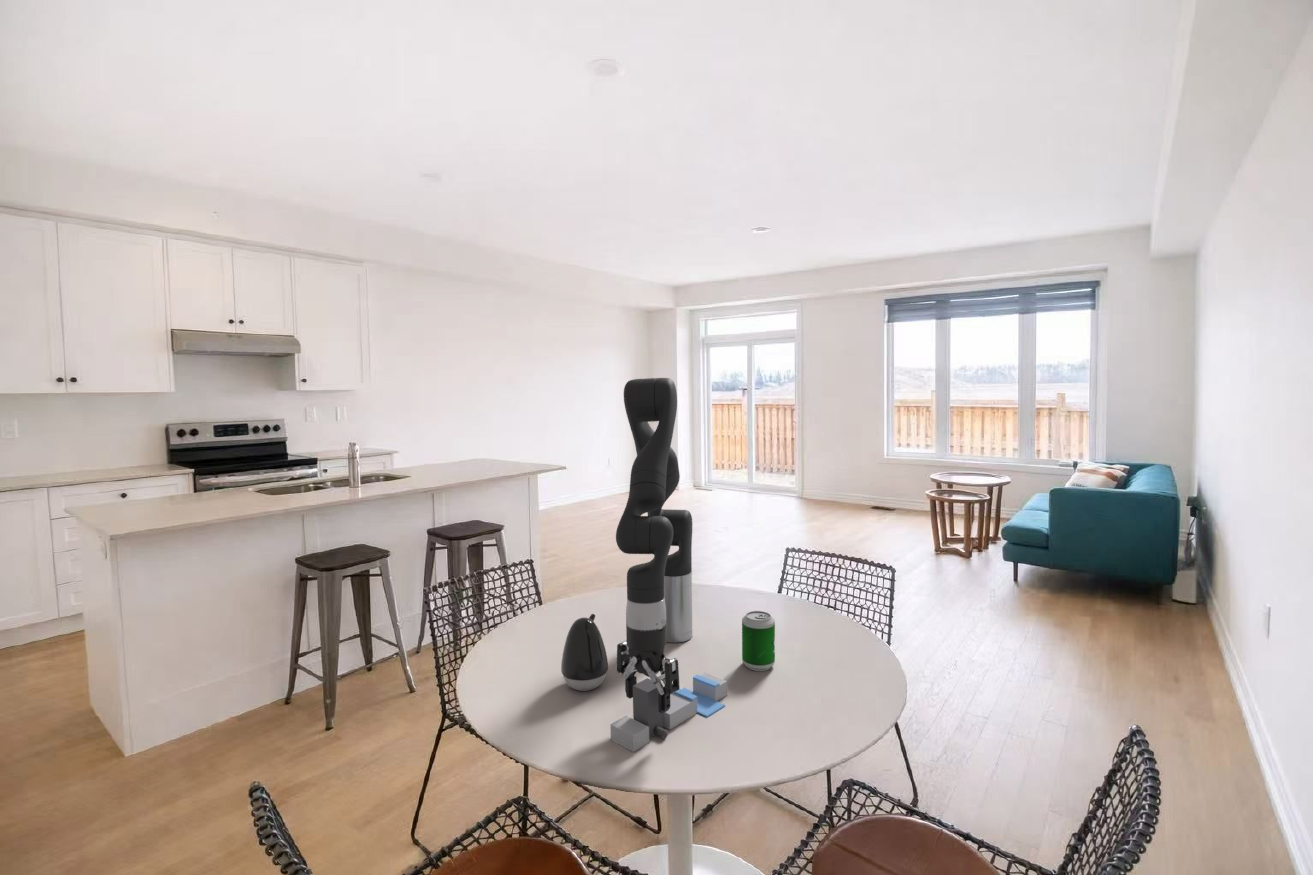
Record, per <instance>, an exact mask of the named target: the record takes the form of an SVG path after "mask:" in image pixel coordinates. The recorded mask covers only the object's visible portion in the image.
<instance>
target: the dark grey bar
mask: <svg viewBox="0 0 1313 875" xmlns="http://www.w3.org/2000/svg"><path fill="white" fill-rule="evenodd" d="M658 694H659V691H658V689H657V687H656V685H655V684H653V683H652V681H651V679H650V678H649V677H648V678H645V679H644V680H641V681H639V682H637V684H635V685H633V697H632V709H633V710H632V711H633V712H632V714H633V715H632V716H633V718H632V719H634V720H636V721H638V722H640V723H642V724H644V725H646V726H648V727H649V739H651V738H652V737H654V736H655V735H657V736H659V737H661V738H663V739H666V738H667V737H668V735H669V732H668V730H667V729H664V726H663V714H662V713H660V712H659V711H658Z"/></svg>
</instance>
